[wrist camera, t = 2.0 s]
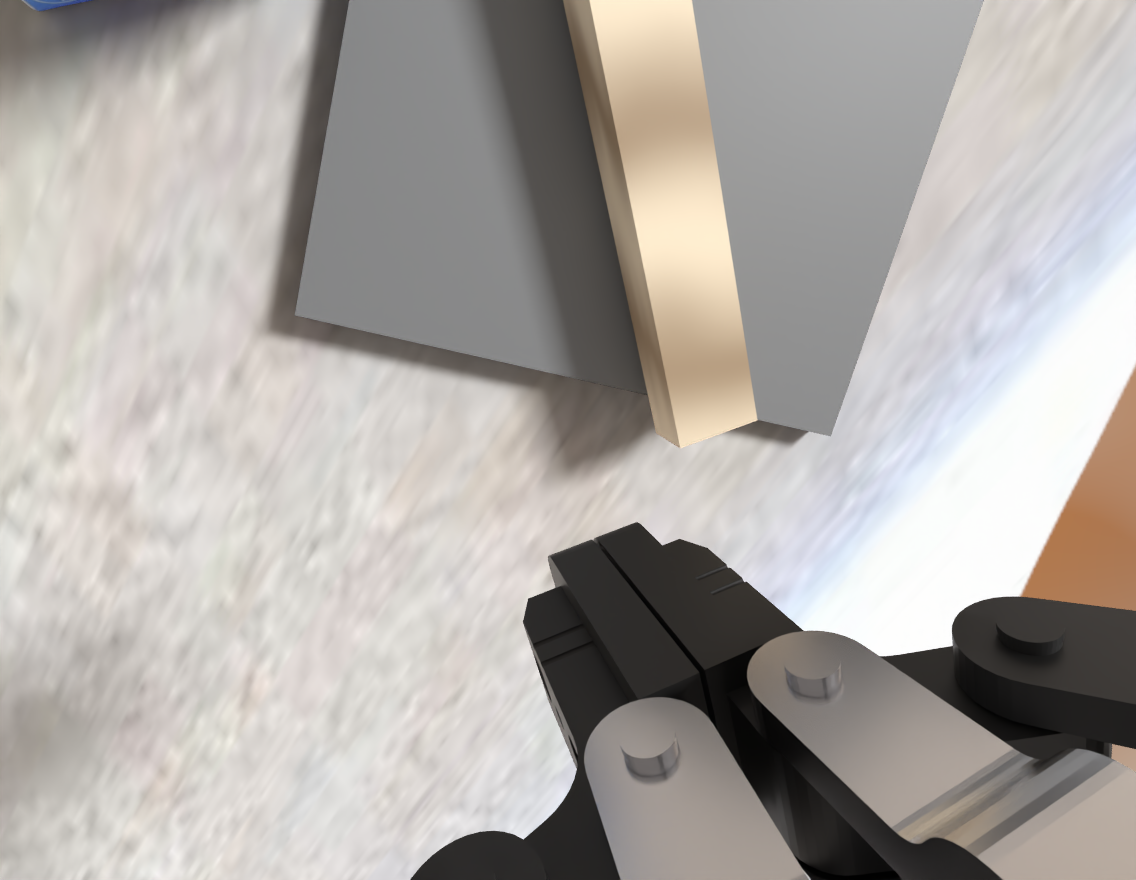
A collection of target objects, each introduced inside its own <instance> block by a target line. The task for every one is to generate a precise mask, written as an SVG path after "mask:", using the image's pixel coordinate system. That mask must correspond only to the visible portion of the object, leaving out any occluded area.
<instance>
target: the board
mask: <svg viewBox="0 0 1136 880" xmlns="http://www.w3.org/2000/svg"><path fill="white" fill-rule="evenodd" d="M983 1H984V0H692V4H693V11H694V17H695V23H696V30H697V36H698V43H699V49H700V55H701V62H702V68H703V75H704V81H705V87H706V94H707V100H708V107H709V113H710V120H711V126H712V132H713V139H714V145H715V152H716V158H717V164H718V171H719V177H720V184H721V190H722V196H723V203H724V209H725V216H726V222H727V229H728V235H729V241H730V248H731V254H732V261H733V267H734V273H735V280H736V286H737V293H738V299H739V305H740V312H741V318H742V325H743V331H744V338H745V344H746V350H747V357H748V363H749V370H750V376H751V382H752V389H753V395H754V402H755V408H756V414H757V420H761V421H765V422H770V423H774V424H779V425H783V426H787V427H792V428H796V429H801V430H805V431H810V432H814V433H818V434H823V435H827V436H831V434H832V431H833V428H834V425H835V423H836V420H837V417H838V414H839V411H840V408H841V406H842V403H843V400H844V397H845V394H846V391H847V388H848V386H849V383H850V380H851V377H852V374H853V371H854V369H855V366H856V363H857V360H858V357H859V354H860V351H861V349H862V346H863V343H864V340H865V337H866V334H867V332H868V329H869V326H870V323H871V320H872V317H873V314H874V312H875V309H876V306H877V303H878V300H879V297H880V295H881V292H882V289H883V286H884V283H885V280H886V277H887V275H888V272H889V269H890V266H891V263H892V260H893V258H894V255H895V252H896V249H897V246H898V243H899V240H900V238H901V235H902V232H903V229H904V226H905V223H906V220H907V218H908V215H909V212H910V209H911V206H912V203H913V201H914V198H915V195H916V192H917V189H918V186H919V183H920V181H921V178H922V175H923V172H924V169H925V166H926V164H927V161H928V158H929V155H930V152H931V149H932V146H933V144H934V141H935V138H936V135H937V132H938V129H939V127H940V124H941V121H942V118H943V115H944V112H945V109H946V107H947V104H948V101H949V98H950V95H951V92H952V90H953V87H954V84H955V81H956V78H957V75H958V72H959V70H960V67H961V64H962V61H963V58H964V55H965V53H966V50H967V47H968V44H969V41H970V38H971V35H972V33H973V30H974V27H975V24H976V21H977V18H978V16H979V13H980V10H981V7H982V4H983ZM295 316H300V317H304V318H309V319H313V320H317V321H322V322H326V323H331V324H335V325H340V326H344V327H348V328H353V329H357V330H362V331H366V332H371V333H375V334H380V335H384V336H388V337H393V338H397V339H402V340H406V341H411V342H415V343H419V344H424V345H428V346H433V347H437V348H442V349H446V350H450V351H455V352H459V353H464V354H468V355H473V356H477V357H481V358H486V359H490V360H495V361H499V362H504V363H508V364H513V365H517V366H521V367H526V368H530V369H535V370H539V371H544V372H548V373H552V374H557V375H561V376H566V377H570V378H575V379H579V380H583V381H588V382H592V383H597V384H601V385H606V386H610V387H614V388H619V389H623V390H628V391H632V392H637V393H641V394H646V395H648V393H647V389H646V384H645V379H644V375H643V370H642V365H641V361H640V356H639V351H638V347H637V342H636V337H635V333H634V328H633V323H632V319H631V314H630V310H629V305H628V300H627V296H626V291H625V286H624V282H623V277H622V272H621V268H620V263H619V258H618V254H617V249H616V244H615V240H614V235H613V231H612V226H611V221H610V217H609V212H608V207H607V203H606V198H605V193H604V189H603V184H602V179H601V175H600V170H599V165H598V161H597V156H596V152H595V147H594V142H593V138H592V133H591V128H590V124H589V119H588V114H587V110H586V105H585V100H584V96H583V91H582V86H581V82H580V77H579V73H578V68H577V63H576V59H575V54H574V49H573V45H572V40H571V35H570V31H569V26H568V21H567V17H566V12H565V7H564V3H563V0H349V5H348V10H347V16H346V22H345V28H344V34H343V39H342V45H341V51H340V57H339V62H338V68H337V74H336V80H335V85H334V91H333V97H332V103H331V108H330V114H329V120H328V126H327V131H326V137H325V143H324V149H323V155H322V160H321V166H320V172H319V178H318V183H317V189H316V195H315V201H314V206H313V212H312V218H311V224H310V229H309V235H308V241H307V247H306V253H305V258H304V264H303V270H302V276H301V281H300V287H299V293H298V299H297V304H296V310H295Z"/></svg>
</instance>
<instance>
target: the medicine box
mask: <svg viewBox="0 0 1136 880" xmlns="http://www.w3.org/2000/svg"><path fill="white" fill-rule="evenodd" d="M21 1H23V2H24V3H25V4H26V5H28V6H29V7H30V8H32V9H34V10H37V11H44V10H48V9H52V8H57V7H61V6H66V5H71V4H76V3H81V2H86V1H92V0H21Z"/></svg>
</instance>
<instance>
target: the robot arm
mask: <svg viewBox="0 0 1136 880" xmlns="http://www.w3.org/2000/svg"><path fill="white" fill-rule="evenodd" d="M548 561H549V566H550V570H551V573H552V577H553V580H554V583H555V587H556V588H554V589H552V590H549V591H547V592H544V593H542V594H539V595H537V596H534V597H532V598H529V599H528V602H527V607H526V611H525V616H524V620H523V624H524V627H525V630H526V633H527V636H528V639H529V642H530V645H531V648H532V651H533V654H534V657H535V660H536V663H537V667H538V670H539V673H540V676H541V679H542V682H543V685H544V688H545V691H546V694H547V697H548V700H549V703H550V705H551V708H552V710H553V713H554V715H555V717H556V720H557V722H558V725H559V727H560V729H561V732H562V734H563V737H564V739H565V742H566V744H567V746H568V748H569V751H570V753H571V756H572V758H573V761H574V763H575V766H576V768H577V771H576V775H575V779H574V781H573V784H572V786H571V789H570V791H569V792H568V794H567V796H566V797H565V799H564V801H563V802H562V803H561V804H560V806H559V807H558V808H557V809H556V811H555V812H554V813H553V814H552V815H551V816H550V817H549V818H548V819H547V820H546V821H544V822H543V823H542V824H541V825H540V826H539V827H538V828H536V829H535V830H534V831H533V832H532V833H531V834H529V835H528V836H527V837H526V838H525V839H524V840H523V839H521V838H519V837H517V836H516V835H513V834H510V833H506V832H500V831H485V832H478V833H474V834H470V835H467V836H464V837H462V838H460V839H457V840H455V841H453V842H451V843H450V844H448V845H446V846H445V847H443V848H442V849H440V850H439V851H438V852H436V853H435V854H434V855H432V856H431V857H430V858H429V859H428V860H427V861H426V862H425V863H424V864H423V865H422V866H421V867H420V868H419V870H418V871H417V872H416V873H415V874H414V876H413V877H412V878H411V880H1136V772H1135V771H1133V770H1131V769H1130V768H1128V767H1126V766H1124V765H1123V764H1121V763H1119V762H1117V761H1115V760H1113V759H1111V754H1112V744H1115V745H1120V746H1124V747H1129V748H1134V749H1136V611H1132V610H1124V609H1116V608H1108V607H1100V606H1092V605H1084V604H1076V603H1068V602H1061V601H1053V600H1045V599H1037V598H1028V597H999V598H992V599H987V600H983V601H980V602H977V603H974V604H972V605H970V606H968V607H966V608H965V609H964V610H962V611H961V612H960V613H959V614H958V615H957V617H956V618H955V620H954V622H953V625H952V640H953V646H950V647H944V648H938V649H932V650H926V651H920V652H914V653H907V654H901V655H894V656H878V655H877V654H875V653H874V652H872V651H871V650H869V649H868V648H866V647H865V646H863V645H862V644H860V643H858V642H857V641H855V640H853V639H850V638H848V637H845V636H842V635H839V634H835V633H830V632H824V631H803V630H802V629H801V628H800V627H799V626H797V625H796V624H795V623H794V622H793V621H792V620H790V619H789V618H788V617H787V616H786V615H785V614H783V613H782V612H781V611H780V610H779V609H778V608H776V607H775V606H774V605H773V604H772V603H771V602H769V601H768V600H767V599H766V598H765V597H764V596H763V595H761V594H760V593H759V592H758V591H757V590H756V589H754V588H753V587H752V586H751V585H750V584H749V583H747V582H744V581H743V579H742V577H740V576H739V575H738V574H737V573H736V572H735V571H733V570H732V569H731V568H728V567H727V565H726V564H725V563H724V562H723V561H722V560H721V559H719V558H718V557H717V556H716V555H715V554H714V553H712V552H711V551H710V550H709V549H708V548H705V547H702V546H699V545H696V544H693V543H690V542H687V541H684V540H681V539H678V540H676V541H673V542H671V543H668V544H666V545H663V546H662V545H661V544H660V543H659V542H658V541H657V540H656V539H655V538H654V537H653V536H652V535H651V534H650V533H649V532H648V531H647V530H646V529H645V528H644V527H643V526H642V525H641V524H640V523H638V522H636V523H633V524H630V525H628V526H625V527H623V528H620V529H617V530H615V531H612V532H609V533H607V534H604V535H602V536H599V537H596V538H594V541H593V540H589V541H586V542H584V543H581V544H579V545H576V546H573V547H571V548H568V549H566V550H563V551H560V552H558V553H555V554H552V555H550V556H548Z"/></svg>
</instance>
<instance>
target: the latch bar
mask: <svg viewBox="0 0 1136 880" xmlns="http://www.w3.org/2000/svg"><path fill="white" fill-rule="evenodd" d="M563 3H564V7H565V12H566V17H567V21H568V26H569V31H570V35H571V40H572V45H573V49H574V54H575V59H576V63H577V68H578V73H579V77H580V82H581V86H582V91H583V96H584V100H585V105H586V110H587V114H588V119H589V124H590V128H591V133H592V138H593V142H594V147H595V152H596V156H597V161H598V165H599V170H600V175H601V179H602V184H603V189H604V193H605V198H606V203H607V207H608V212H609V217H610V221H611V226H612V231H613V235H614V240H615V244H616V249H617V254H618V258H619V263H620V268H621V272H622V277H623V282H624V286H625V291H626V296H627V300H628V305H629V310H630V314H631V319H632V323H633V328H634V333H635V337H636V342H637V347H638V351H639V356H640V361H641V365H642V370H643V375H644V379H645V384H646V389H647V393H648V398H649V402H650V407H651V412H652V416H653V421H654V426H655V430H656V433H657V434H658V435H660V436H662V437H663V438H665V439H666V440H668V441H669V442H671V443H673V444H674V445H676V446H677V447H679V448H683V447H686V446H688V445H691V444H694V443H697V442H699V441H702V440H705V439H708V438H710V437H713V436H716V435H719V434H721V433H724V432H727V431H730V430H733V429H735V428H738V427H741V426H744V425H746V424H749V423H752V422H755V421H757V414H756V408H755V402H754V395H753V389H752V382H751V376H750V370H749V363H748V357H747V350H746V344H745V338H744V331H743V325H742V318H741V312H740V305H739V299H738V293H737V286H736V280H735V273H734V267H733V261H732V254H731V248H730V241H729V235H728V229H727V222H726V216H725V209H724V203H723V196H722V190H721V184H720V177H719V171H718V164H717V158H716V152H715V145H714V139H713V132H712V126H711V120H710V113H709V107H708V100H707V94H706V87H705V81H704V75H703V68H702V62H701V55H700V49H699V43H698V36H697V30H696V23H695V17H694V11H693V4H692V0H563Z"/></svg>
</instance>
